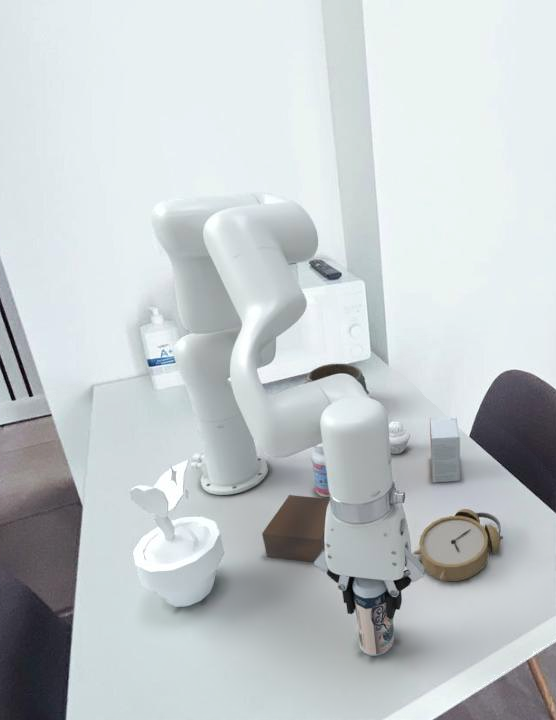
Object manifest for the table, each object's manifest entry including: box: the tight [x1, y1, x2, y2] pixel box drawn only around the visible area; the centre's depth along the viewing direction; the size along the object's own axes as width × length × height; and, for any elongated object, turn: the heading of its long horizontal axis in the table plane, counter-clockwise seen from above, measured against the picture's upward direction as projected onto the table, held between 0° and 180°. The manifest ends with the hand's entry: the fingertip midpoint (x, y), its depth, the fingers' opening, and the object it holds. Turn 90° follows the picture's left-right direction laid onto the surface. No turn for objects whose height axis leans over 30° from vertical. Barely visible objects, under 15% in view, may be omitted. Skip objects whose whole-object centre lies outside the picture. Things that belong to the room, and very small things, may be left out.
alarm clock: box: [412, 508, 504, 582], centre depth 90 cm, size 11×5×15 cm
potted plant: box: [129, 459, 225, 608], centre depth 79 cm, size 13×12×25 cm
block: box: [261, 494, 330, 563], centre depth 93 cm, size 10×10×5 cm
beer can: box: [353, 577, 395, 657], centre depth 73 cm, size 5×5×12 cm
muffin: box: [388, 421, 411, 455], centre depth 118 cm, size 6×6×7 cm
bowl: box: [305, 363, 370, 396], centre depth 134 cm, size 14×15×10 cm
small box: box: [429, 416, 461, 483], centre depth 110 cm, size 8×6×10 cm
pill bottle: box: [311, 443, 330, 498], centre depth 105 cm, size 6×6×11 cm
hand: (373, 606), depth 73 cm, fingers closed on beer can, 4 cm apart
